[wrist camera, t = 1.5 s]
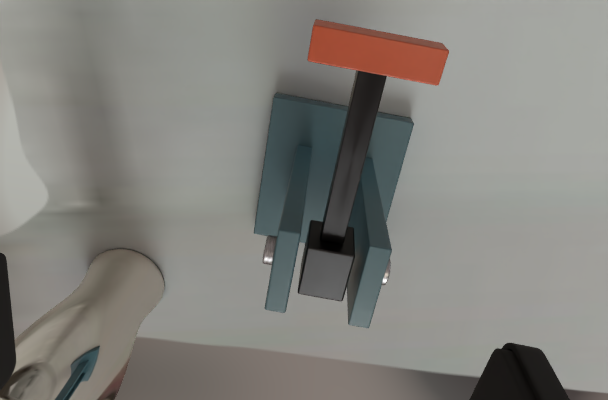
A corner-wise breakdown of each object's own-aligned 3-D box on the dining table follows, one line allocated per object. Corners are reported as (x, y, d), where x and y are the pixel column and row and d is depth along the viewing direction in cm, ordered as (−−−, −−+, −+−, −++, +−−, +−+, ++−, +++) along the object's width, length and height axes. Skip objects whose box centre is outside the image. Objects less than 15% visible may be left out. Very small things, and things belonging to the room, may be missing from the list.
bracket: (275, 92, 31) (239, 160, 19) (411, 118, 31) (457, 200, 19) (255, 226, 35) (216, 348, 23) (375, 247, 35) (395, 379, 23)
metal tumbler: (168, 247, 36) (67, 407, 22) (172, 319, 39) (85, 500, 25) (78, 238, 36) (-76, 393, 23) (89, 311, 39) (-41, 487, 26)
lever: (315, 16, 18) (312, 27, 16) (440, 40, 19) (453, 53, 16) (274, 258, 25) (268, 289, 22) (369, 275, 25) (371, 307, 23)
